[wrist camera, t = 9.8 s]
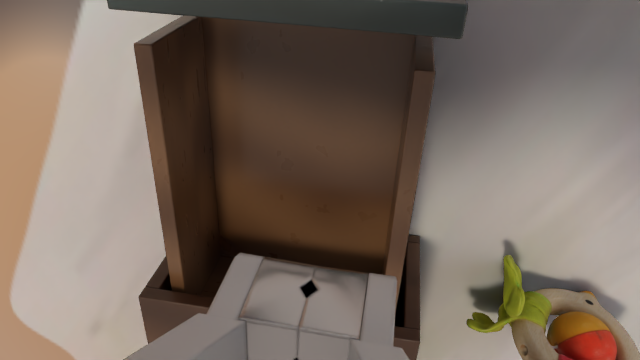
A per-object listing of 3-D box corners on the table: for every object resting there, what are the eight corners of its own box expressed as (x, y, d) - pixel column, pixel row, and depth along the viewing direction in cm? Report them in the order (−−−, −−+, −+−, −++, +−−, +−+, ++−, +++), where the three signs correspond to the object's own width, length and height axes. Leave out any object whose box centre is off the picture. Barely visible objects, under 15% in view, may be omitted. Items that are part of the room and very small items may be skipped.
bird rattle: (590, 236, 32) (464, 244, 29) (752, 390, 23) (592, 421, 20) (553, 304, 35) (437, 317, 33) (682, 462, 26) (537, 496, 24)
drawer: (164, -169, 22) (73, -186, 16) (478, -157, 20) (502, -172, 14) (206, 249, 34) (163, 324, 28) (404, 278, 32) (400, 364, 27)
